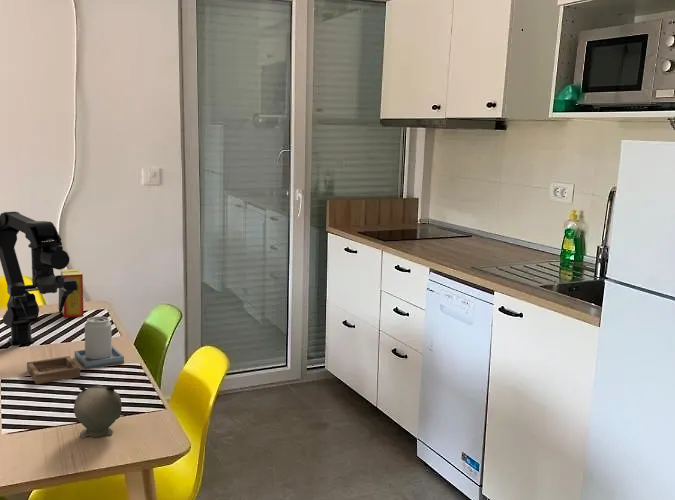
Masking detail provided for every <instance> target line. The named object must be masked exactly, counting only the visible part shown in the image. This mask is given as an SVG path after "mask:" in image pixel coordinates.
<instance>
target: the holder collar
mask: <svg viewBox="0 0 675 500" xmlns="http://www.w3.org/2000/svg"><path fill="white" fill-rule="evenodd" d="M63 367H66V368H65V369H64V368H63ZM55 368H56V369H58V368H63V369H59V370H51V371H46V372H41V373H40V372H39V371H44V370H50V369H55ZM26 371H27V373H28V374H29V376H30V377H31V378H32V380H33V381H34V383H35V385H40V384H47V383H53V382H57V381H58V380H59V381H63V379H65V380H70V379H74V378H80V377H81V368H80V366H79V365H78V364H77V363H76V362H75V361H74V359H73V358H71V356H70V355H68V356H62V357H61V356H60V357H54V358H47V359H42V360H41V359H40V360H35V361H28V362H26ZM52 381H53V382H52Z"/></svg>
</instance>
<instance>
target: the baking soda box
mask: <svg viewBox="0 0 675 500" xmlns="http://www.w3.org/2000/svg"><path fill="white" fill-rule="evenodd" d="M60 275H63V276H64V279H66V278H72V279H74V280H75V281H76V282H77V283H78V290H74V291H73V293H70V294H69V295H68V297H67V299H66V301H65V304H64V306H63V309H62V312H61V313H62V316H63V318H64V319H67V318H79V317H81V318H82V317H84V285H83V284H84V281H83V280H84V277H83V273H82V271H81V269H80V268H75V269H74V268H73V269H61V270H60Z"/></svg>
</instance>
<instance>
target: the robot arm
mask: <svg viewBox="0 0 675 500" xmlns="http://www.w3.org/2000/svg"><path fill="white" fill-rule="evenodd" d="M19 232H20V233H23V234H24V235H25V236H24V237H25V238H26V240H28V241H29V244H28V248H30V250H31V253H30V254H31V276H32V277H31V279H32V280H31V283H32V284H25V281H24V277H23V273H22V270H21V267H20V263H19V261H18V256H17V252H16V249H15V247H16V244H17V241H18V234H19ZM63 248H64V247H63V242H62V237H61V236H60V234H59V232H58V230H57V228H56V226H55V224H54V223H53V222H52V221H47V220H35V219H33V218H30V217H28V216H25V215H23V214H22V213H20V212H19V211H18V212H17V211H3V212H2V213H0V265H1V268H2V271H3V275H4V278H5V282H6V290H7V292H6V293H7V294H8V295H9V298H8V300H7V302H6V307H7V310H6V312H5V313H4V315H3V316H2V321H3V324H4V325H6V326H8V327H9V328H10V333H11V334H10V338H8V342H9V343H10V344H11V346H18V345H25V344H26V345H27V344H33V343H35V340H34V339H33V337H32V324H31V323H36V322H38V318H39V313H40V307H39V304H38V302H37V300H36V299H37V298H36V295H35V294H34V293H30V292H37V291H38V292H39V294H41V295H46V294H56V293H57V292H58V312H59V314H61V313H62V309H63V306H64V304H65V301H66V299H67V297H68V295H69V294H70V293H73V291H74V290H78V283H77V282H76V281H75V280H74V279H72V278H66V279H64V276H63V275H61V274H60V275H55V273H54V272H55V271H54V270H59V271H61V270H65V268H66V267H68V265H69V263H70V255H69V253H68V252H66V251H65V250H63Z"/></svg>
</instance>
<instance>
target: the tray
mask: <svg viewBox="0 0 675 500" xmlns="http://www.w3.org/2000/svg"><path fill="white" fill-rule="evenodd" d="M74 359H75V360H76V361H77V362H78V363H79V364H80V366H82V367H83V369H84V370H89V369H95V368H100V367H107V366H113V365H119V364H124V363H125V356H124V355H123V354H122V353H121V352H120V351H119V350H118V349H116V348H115V347H114V345H112V355H111V356H110V357H109V358H106V359H100V360H94V361H92V360H89V359H88V358H87V357H86V356H85V349H79V350H74Z"/></svg>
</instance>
